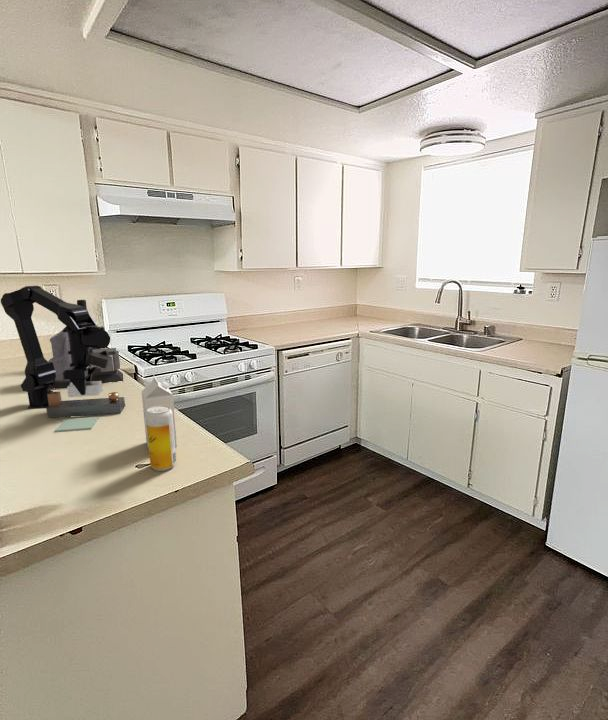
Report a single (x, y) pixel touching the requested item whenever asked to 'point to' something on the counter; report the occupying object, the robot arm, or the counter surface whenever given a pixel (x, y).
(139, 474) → the counter surface
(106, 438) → the counter surface
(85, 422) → the mat
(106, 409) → the hand plane
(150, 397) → the milk carton
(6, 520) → the counter surface
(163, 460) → the beer can
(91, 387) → the lever cap
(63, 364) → the juicer
